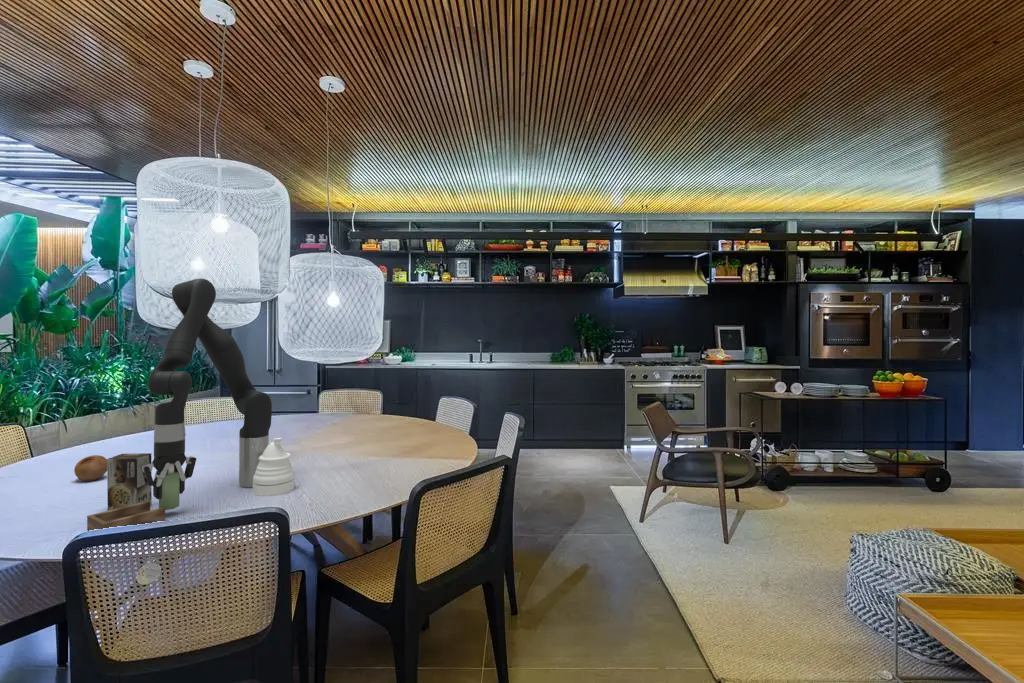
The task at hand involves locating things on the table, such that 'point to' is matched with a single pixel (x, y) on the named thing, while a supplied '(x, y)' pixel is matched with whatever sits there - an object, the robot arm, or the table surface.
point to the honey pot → (273, 471)
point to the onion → (91, 468)
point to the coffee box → (127, 480)
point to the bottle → (170, 490)
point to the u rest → (126, 516)
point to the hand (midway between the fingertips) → (169, 495)
